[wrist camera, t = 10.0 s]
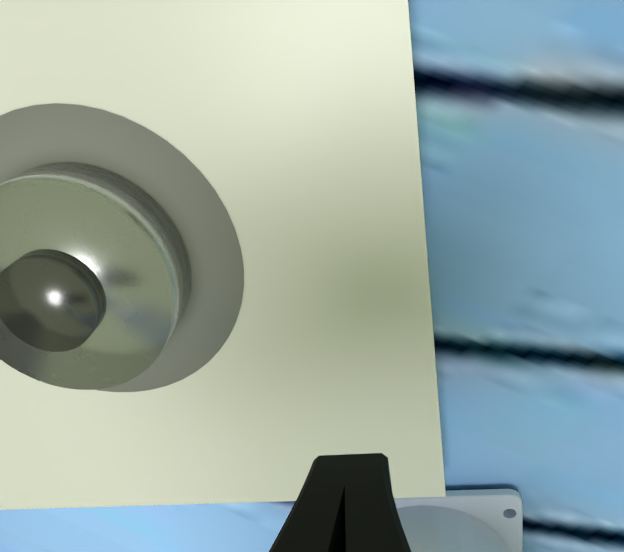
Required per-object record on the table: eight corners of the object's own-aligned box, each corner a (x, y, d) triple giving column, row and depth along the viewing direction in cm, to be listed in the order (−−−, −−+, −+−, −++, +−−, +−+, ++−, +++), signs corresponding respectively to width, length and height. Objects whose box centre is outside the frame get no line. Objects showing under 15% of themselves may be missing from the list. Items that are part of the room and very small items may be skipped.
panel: (442, 467, 24) (446, 500, 22) (-40, 485, 27) (-64, 515, 26) (389, -208, 14) (390, -231, 13) (-331, -47, 18) (-397, -50, 16)
